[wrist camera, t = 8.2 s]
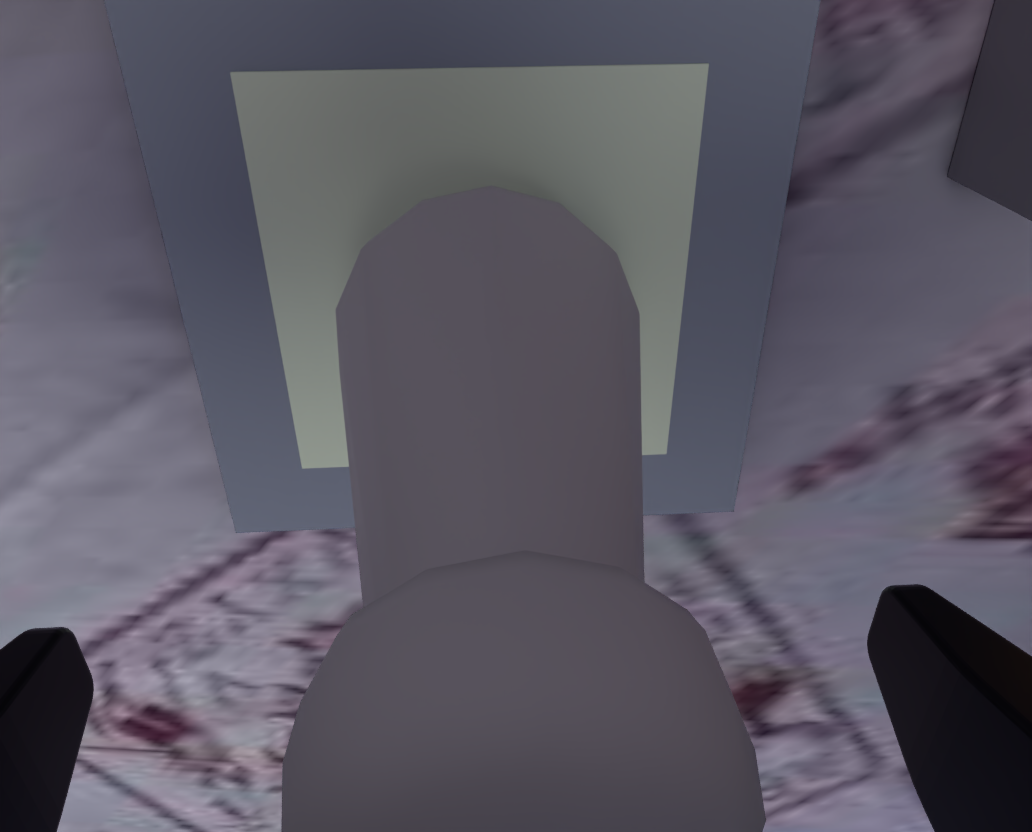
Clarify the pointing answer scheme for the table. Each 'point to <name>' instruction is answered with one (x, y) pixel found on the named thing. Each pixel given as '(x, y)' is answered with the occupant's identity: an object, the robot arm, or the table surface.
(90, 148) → the table surface
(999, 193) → the button housing
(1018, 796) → the robot arm
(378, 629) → the salt shaker
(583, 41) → the grey flat square slab
